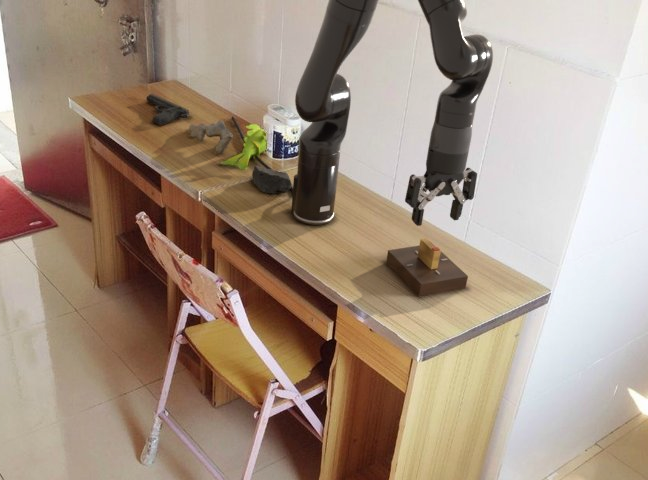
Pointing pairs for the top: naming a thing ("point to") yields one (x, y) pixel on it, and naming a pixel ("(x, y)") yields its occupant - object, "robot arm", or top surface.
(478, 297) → the top surface
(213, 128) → the grey lumpy bent piece
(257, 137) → the toy
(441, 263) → the lock plate
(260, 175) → the rock
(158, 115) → the handgun
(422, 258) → the red-tipped tan block
